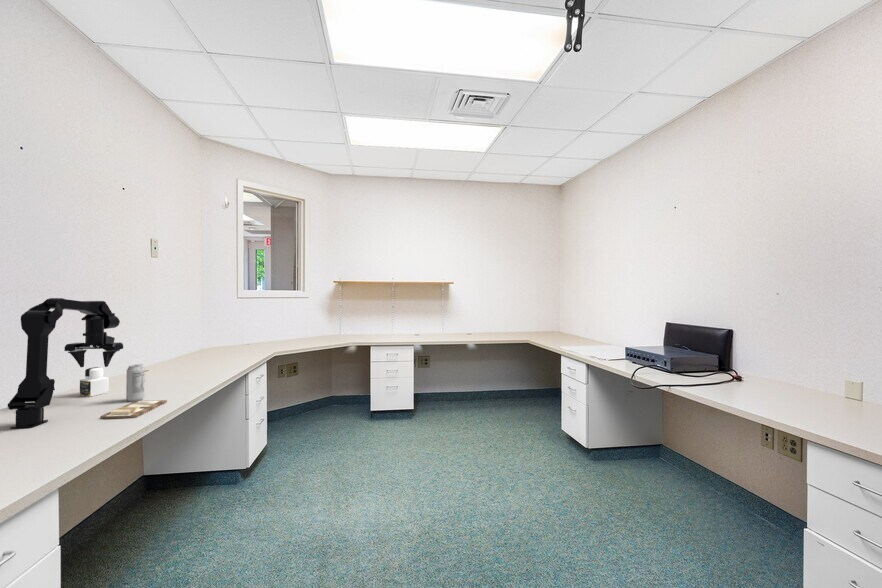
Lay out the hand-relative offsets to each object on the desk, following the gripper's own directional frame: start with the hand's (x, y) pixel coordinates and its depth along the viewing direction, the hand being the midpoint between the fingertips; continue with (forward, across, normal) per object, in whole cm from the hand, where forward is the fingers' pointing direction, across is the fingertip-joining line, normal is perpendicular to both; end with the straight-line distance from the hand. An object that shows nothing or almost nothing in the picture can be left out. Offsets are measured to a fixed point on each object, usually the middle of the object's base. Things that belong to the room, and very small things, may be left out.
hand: (94, 367), depth 154 cm
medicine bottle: (+15, +8, -12) cm, 21 cm away
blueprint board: (+15, -25, +14) cm, 32 cm away
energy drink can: (+15, -16, 0) cm, 22 cm away
